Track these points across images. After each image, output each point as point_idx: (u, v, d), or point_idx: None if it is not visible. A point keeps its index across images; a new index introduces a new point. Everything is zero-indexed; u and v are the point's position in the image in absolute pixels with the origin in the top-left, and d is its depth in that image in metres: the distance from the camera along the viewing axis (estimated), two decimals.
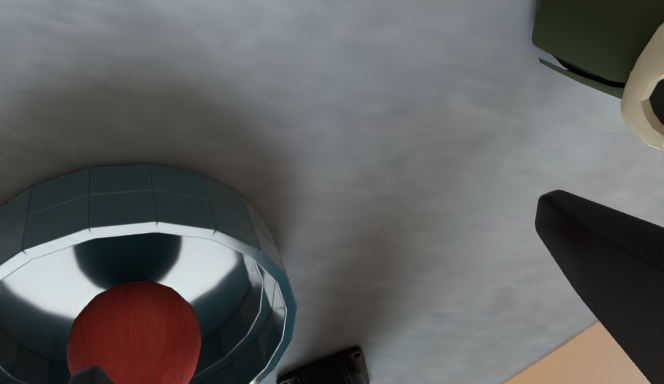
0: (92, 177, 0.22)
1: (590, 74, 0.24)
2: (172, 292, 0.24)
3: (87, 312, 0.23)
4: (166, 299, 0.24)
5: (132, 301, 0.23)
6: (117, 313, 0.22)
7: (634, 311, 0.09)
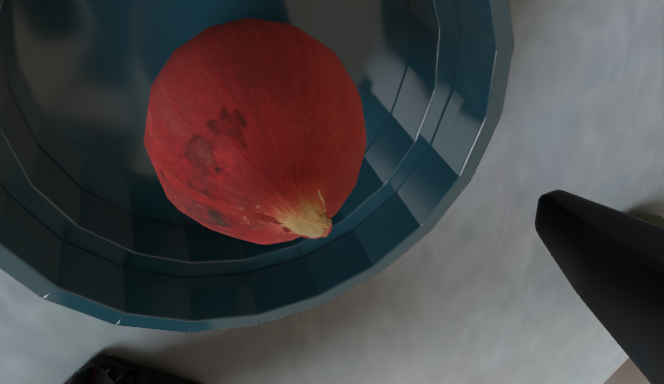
0: None
1: None
2: None
3: (301, 30, 0.13)
4: None
5: (352, 82, 0.14)
6: (345, 72, 0.14)
7: (634, 311, 0.09)
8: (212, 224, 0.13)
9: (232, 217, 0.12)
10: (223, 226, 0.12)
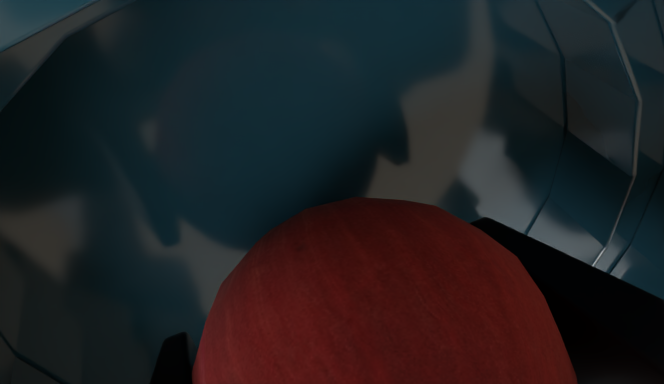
0: None
1: None
2: None
3: (469, 229, 0.08)
4: None
5: None
6: None
7: None
8: None
9: None
10: None
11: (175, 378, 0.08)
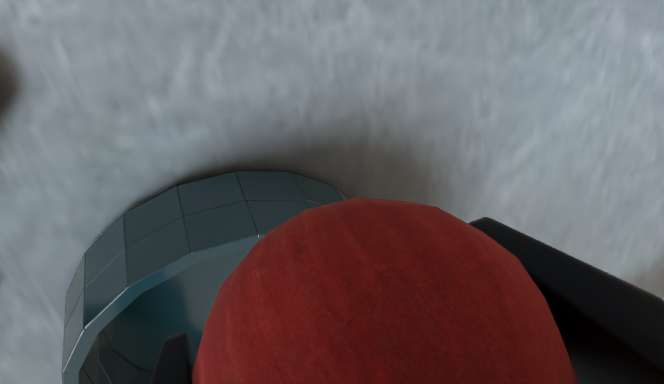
0: None
1: None
2: None
3: (470, 231, 0.08)
4: None
5: None
6: None
7: None
8: None
9: None
10: None
11: (175, 378, 0.08)
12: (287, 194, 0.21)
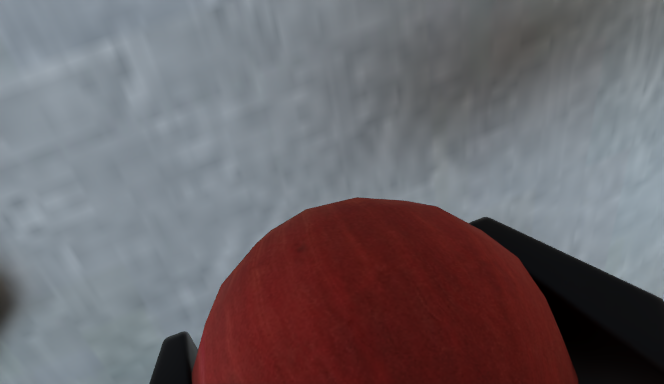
0: None
1: None
2: None
3: (470, 230, 0.08)
4: None
5: None
6: None
7: None
8: None
9: None
10: None
11: (175, 378, 0.08)
12: None
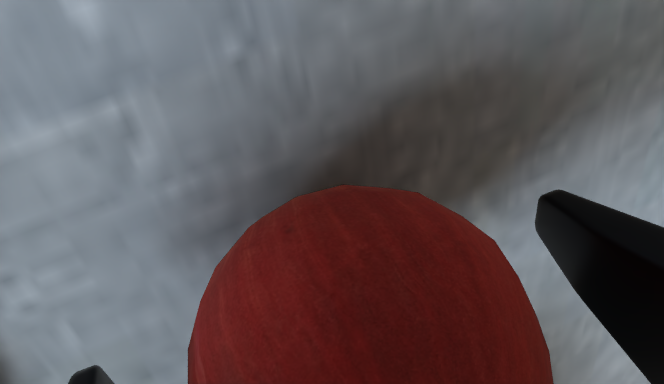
0: None
1: None
2: None
3: (449, 214, 0.08)
4: None
5: None
6: None
7: (634, 311, 0.09)
8: None
9: None
10: None
11: None
12: None
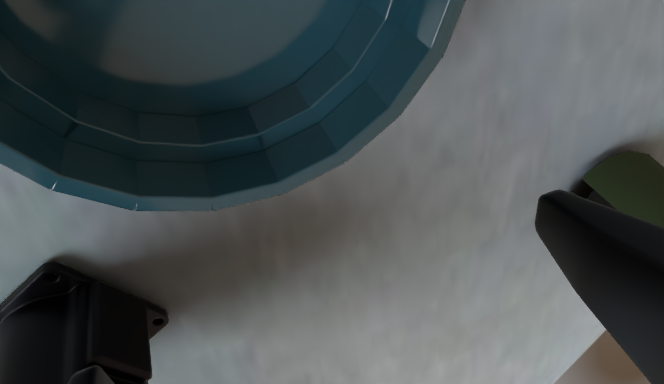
0: None
1: None
2: None
3: None
4: None
5: None
6: None
7: (634, 311, 0.09)
8: None
9: None
10: None
11: None
12: None
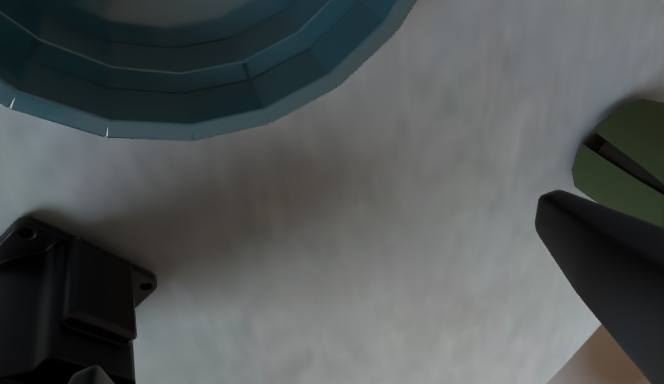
0: None
1: (637, 176, 0.26)
2: None
3: None
4: None
5: None
6: None
7: (634, 311, 0.09)
8: None
9: None
10: None
11: None
12: None
